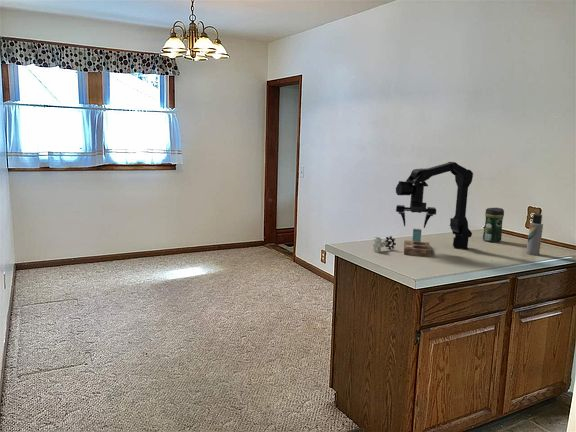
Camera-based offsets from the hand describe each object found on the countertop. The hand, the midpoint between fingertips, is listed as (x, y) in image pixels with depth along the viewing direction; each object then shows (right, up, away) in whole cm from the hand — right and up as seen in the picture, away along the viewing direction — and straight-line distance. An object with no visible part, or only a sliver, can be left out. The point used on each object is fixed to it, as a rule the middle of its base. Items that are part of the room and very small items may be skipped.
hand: (414, 227), depth 234 cm
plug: (+4, -9, +12) cm, 15 cm away
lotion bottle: (+59, -13, +3) cm, 61 cm away
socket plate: (0, -12, -3) cm, 12 cm away
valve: (-17, -11, -4) cm, 21 cm away
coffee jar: (+50, -9, +30) cm, 59 cm away
